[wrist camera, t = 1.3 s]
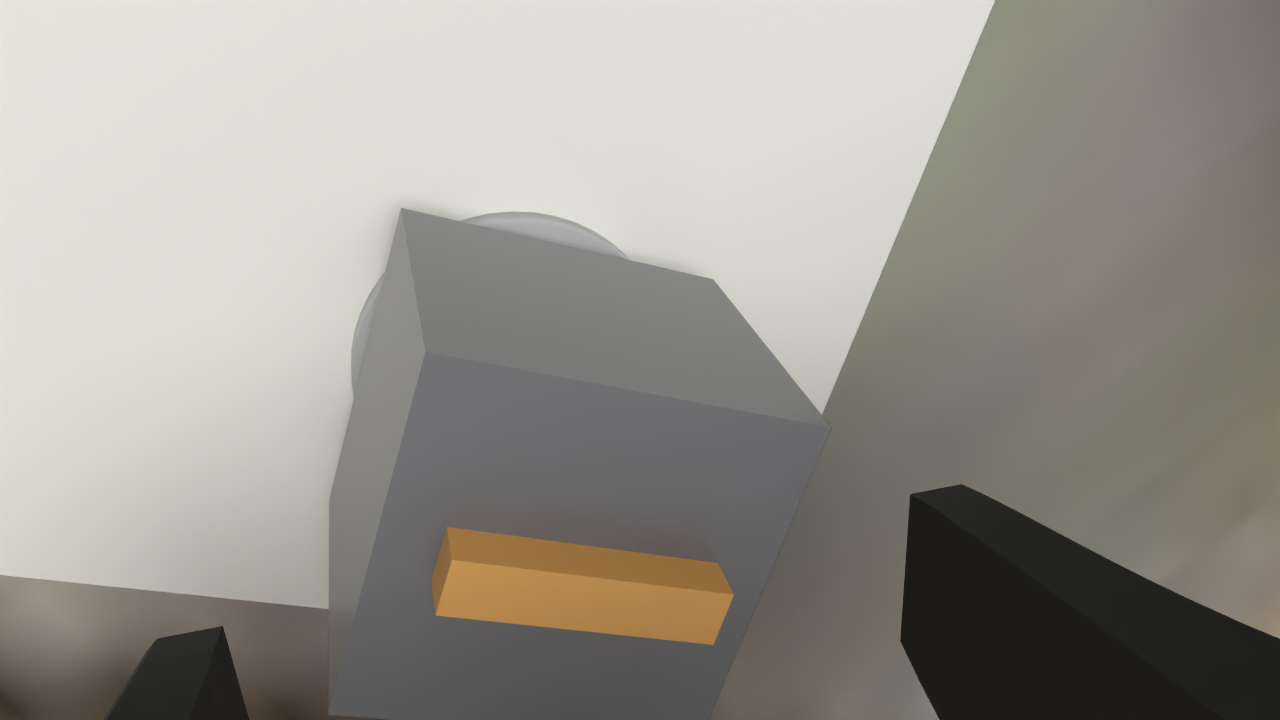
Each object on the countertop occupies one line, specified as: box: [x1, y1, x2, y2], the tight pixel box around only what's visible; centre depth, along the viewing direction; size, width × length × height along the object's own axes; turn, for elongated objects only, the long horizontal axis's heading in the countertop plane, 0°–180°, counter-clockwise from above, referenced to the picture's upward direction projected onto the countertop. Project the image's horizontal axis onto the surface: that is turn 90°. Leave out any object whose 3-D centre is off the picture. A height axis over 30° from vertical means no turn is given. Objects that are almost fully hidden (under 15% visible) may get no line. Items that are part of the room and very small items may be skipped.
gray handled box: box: [328, 208, 832, 720], centre depth 14 cm, size 5×5×5 cm
